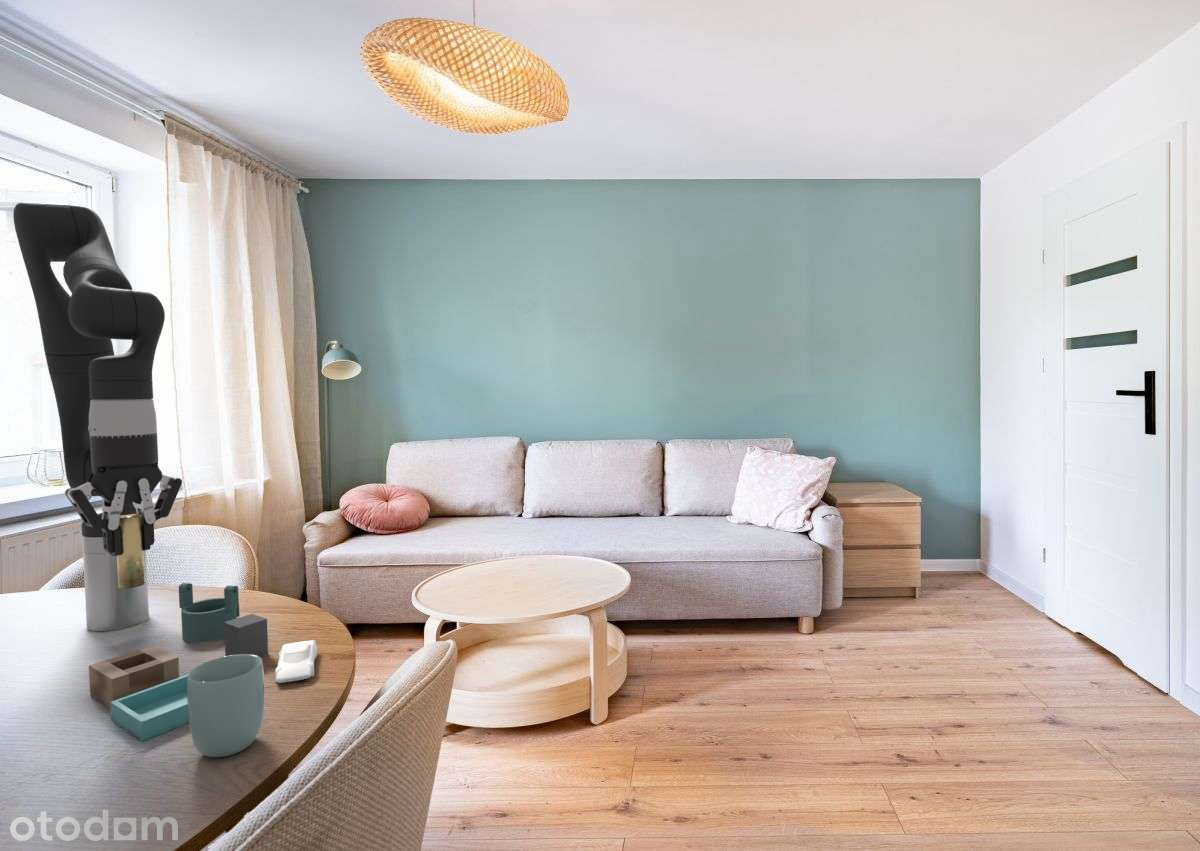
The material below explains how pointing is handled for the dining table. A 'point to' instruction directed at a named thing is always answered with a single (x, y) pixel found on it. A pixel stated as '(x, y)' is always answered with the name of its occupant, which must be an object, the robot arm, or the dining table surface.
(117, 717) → the tray
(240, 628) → the dark grey block
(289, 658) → the toy car
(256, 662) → the cup
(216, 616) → the bracket
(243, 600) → the dining table surface
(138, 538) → the pin
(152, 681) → the socket
